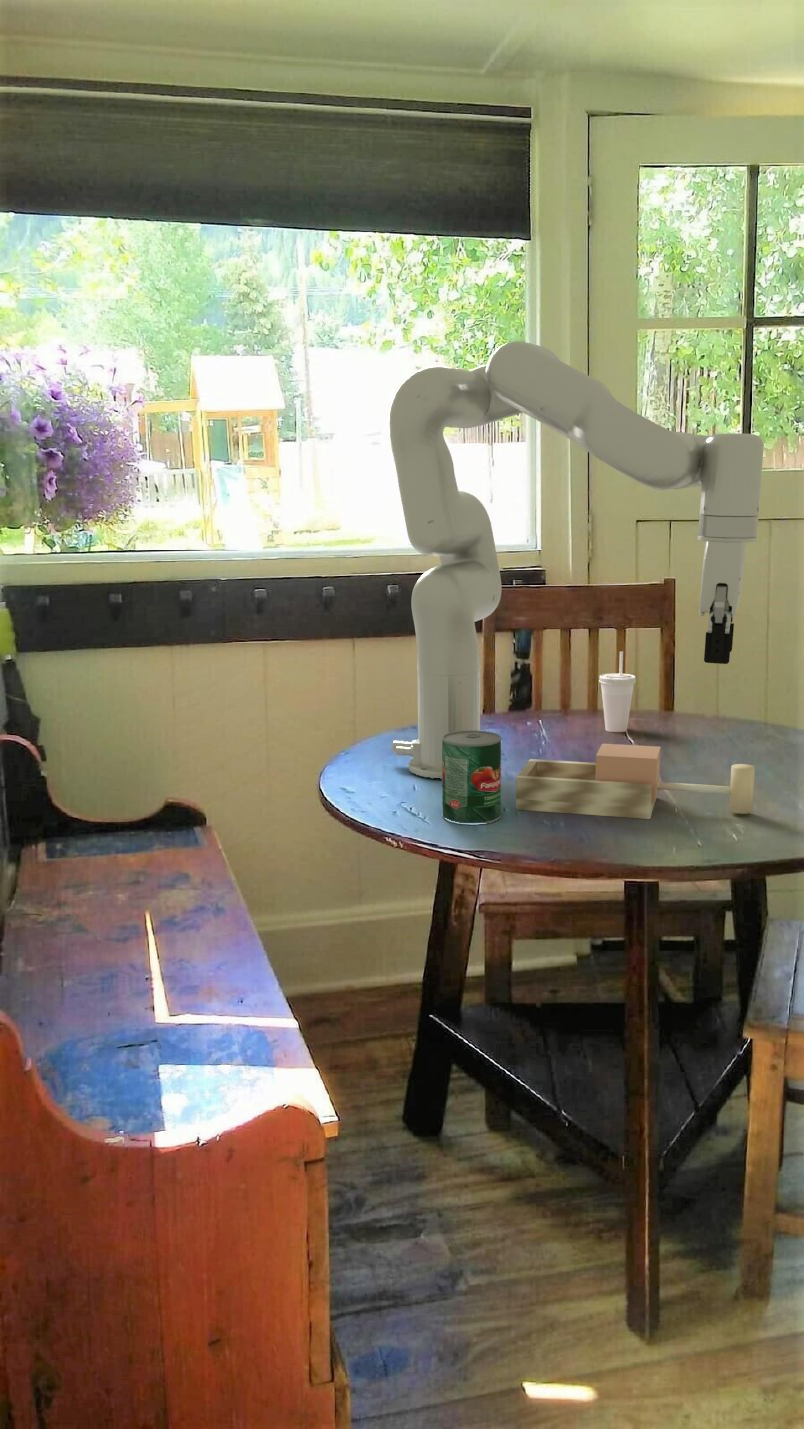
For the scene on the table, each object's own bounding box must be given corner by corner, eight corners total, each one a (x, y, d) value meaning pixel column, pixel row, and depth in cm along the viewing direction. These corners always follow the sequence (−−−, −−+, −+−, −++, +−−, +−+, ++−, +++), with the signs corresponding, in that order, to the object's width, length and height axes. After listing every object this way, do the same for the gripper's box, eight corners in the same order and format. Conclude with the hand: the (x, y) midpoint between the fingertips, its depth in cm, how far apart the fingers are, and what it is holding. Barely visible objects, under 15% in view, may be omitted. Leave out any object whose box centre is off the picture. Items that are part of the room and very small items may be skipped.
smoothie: (637, 733, 200) (640, 654, 197) (600, 734, 201) (602, 655, 198) (630, 725, 207) (633, 648, 204) (595, 726, 207) (597, 649, 204)
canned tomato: (498, 826, 149) (498, 744, 147) (438, 824, 151) (437, 742, 148) (503, 809, 157) (503, 731, 155) (446, 807, 158) (445, 729, 156)
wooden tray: (515, 809, 157) (516, 777, 156) (529, 788, 167) (530, 758, 166) (650, 819, 152) (651, 786, 151) (656, 797, 162) (657, 766, 161)
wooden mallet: (594, 807, 155) (595, 755, 154) (600, 793, 162) (602, 743, 160) (752, 818, 150) (755, 764, 148) (752, 803, 156) (755, 751, 155)
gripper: (702, 525, 161) (694, 645, 165) (694, 532, 145) (685, 666, 149) (758, 526, 159) (748, 649, 162) (756, 534, 143) (745, 669, 146)
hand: (718, 657), depth 156 cm, fingers open, 9 cm apart
